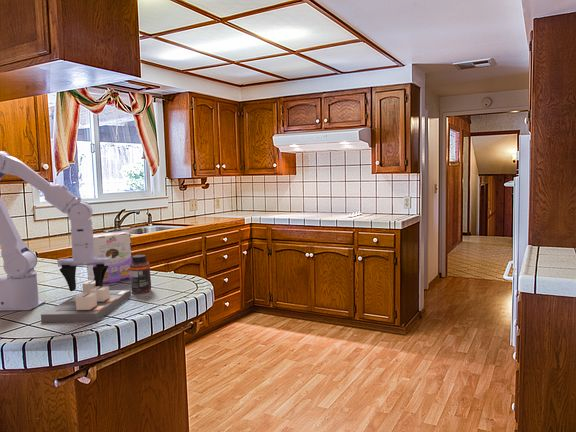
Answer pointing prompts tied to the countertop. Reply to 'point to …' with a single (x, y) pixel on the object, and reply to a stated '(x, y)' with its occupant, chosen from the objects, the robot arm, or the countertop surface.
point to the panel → (70, 314)
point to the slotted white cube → (86, 301)
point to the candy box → (113, 256)
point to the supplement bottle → (140, 274)
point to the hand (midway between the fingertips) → (85, 290)
